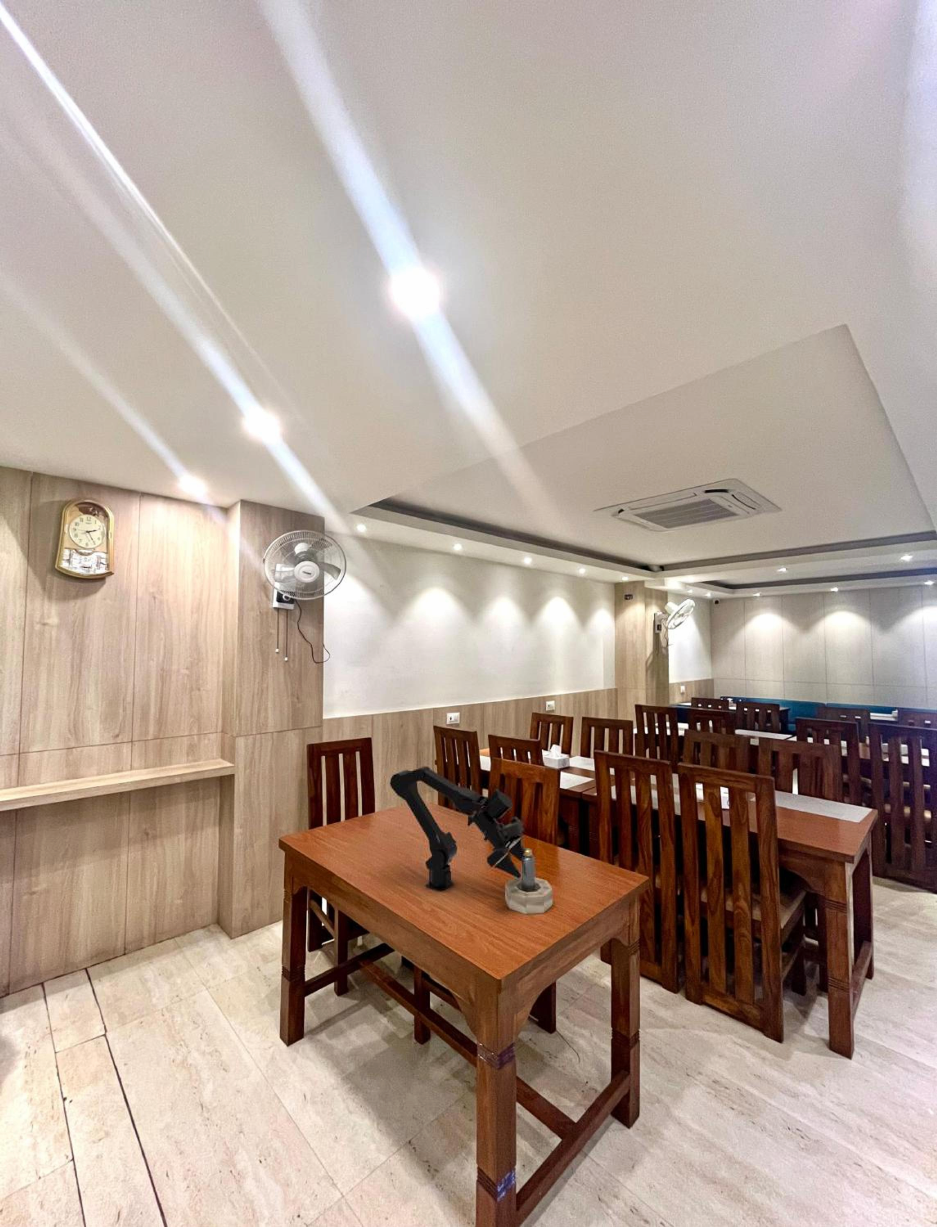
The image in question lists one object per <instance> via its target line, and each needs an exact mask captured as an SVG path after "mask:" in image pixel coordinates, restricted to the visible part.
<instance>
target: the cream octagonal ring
mask: <svg viewBox="0 0 937 1227" xmlns="http://www.w3.org/2000/svg"><path fill="white" fill-rule="evenodd" d="M504 891H505V892H504V894H505V895H504V899H505V902H506V905H507V906H508V908H509V909H510V910H513V911H514V912H518V913H521V914H524V915H533V914H543V913H546V911H547V910H548V909H550V908H551V907H552V906H553V888H552V886H551V885H550V883H549V882H548V881H547V880H546V879H542V878H538V877H535V892H524V891H522V876H521V877H520V878H517V877H513V878H511V879H510V880H508V882H506V883H505V884H504Z"/></svg>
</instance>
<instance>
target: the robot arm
mask: <svg viewBox="0 0 937 1227" xmlns="http://www.w3.org/2000/svg"><path fill="white" fill-rule="evenodd" d="M419 781H420V782H422V783H424V784H426V786H428V787H430V788H431V789H433V790H435V791H436V792H438V793H439V794H441V795H443V796H445V797H446V798H448V799H449V800H450V801H451V803H452V804H453V806H454V807H455V808H456V809H457V810H458V811H460V813H462V814H464V815H468V816H467V827H469V826H471V825H473V824H474V825H475V826H476V828H477V829H478V830H479V831H480V832H481V834H482V835H483V836H484V837H483V841H484V842H487V841H488V842H489V843H490V845H491V846H492V847H493V848H492V852H491V853H490V854H489V855H488V856H487V857H486V863H487V864H488V866H489V867H490V868H494V869H498V870H500V871H503V872H505V873H507V874H509V875H511V876H512V877H514V878H516V877H517V878H520V877H522V875H521V873H520V871H519V869H518V867H516V864H515V863H514V862H513V860H512V859H511V858H512V857H511V855H512V856H514V858H516V859H517V860H519V861H520V862H521V856H522V855H524V849H525V848H524V845H523V842H524V840H523V839H524V833H523V832H524V831H525V830H524V827H523V824H524V822H523V821H522V820H521V819H519V818H518V817H517V816H514V817H512V818H511V819H510V823H508V824H506V825H505V824H504V823H503V822H498V821H497V819H501V818H502V817H503V816H504V815H505V814H506V813H507V812H508V811H509V810H511V808H512V807H513V801H512V800H511V798H510V796H508V795H507V794H505V793H504V792H502V791H500V789H495V790H494V791H493V792H492V794H491V795H490V796H489V797H488V796H486V795H485V796H484V795H481V794H480V793H478V792H477V791H475V790H474V789H473V790H472V789H470V788H468V787H463V786H462V787H461V786H459V785H457V784H455V783H453V782H452V781H450V780H448V779H447V778H445V777H443V776H442V775H441V774H439V773H437V772H435V771H433V770H432V769H431V768H430V767H429V766H427V765H425V766H421V767H419V768H417V769H413V770H409V769H404V770H402V771H399V772H397V773H394V774H392V776H391V777H390V782H389V785H390V788H391V789H392V790H393V792H394V793H395V794H396V795H397V796H398V797H400V798H401V799H402V800H403V801H405V803H406V804H407V805H408V807H409V809H410V811H411V812H412V814H413V816H414V818H415V819H416V822H418V824H419V826H420V828H421V829H422V832H423V833H424V834H425V836H426V837H427V840H428V845H429V846H428V847H429V848H428V849H429V852H430V854H431V856H430V857H429V858H428V859H427V860H426V861H425V866H426V869H427V870H428V882H427V883H426V884H425V886H426V887H428V888H431V889H434V890H437V891H438V892H442V891H444V890H445V889H447V888H449V887H451V885H453V884H454V881H452V870H451V865H450V864H449V863H451V862H452V860H453V859H454V858H455V857H456V856H457V853H458V846H457V841H456V840H455V839H454V837H453V835H452V833H451V832H450V831H448V832H446V833H445V832H444V831H442V829H441V828H440V826H439V825H438V823H437V822H436V819H435V818H434V816H433V814H432V813H431V811H430V809H429V807H428V806H427V805H426V803H425V801H424V800H423V798H422V797H421V795H420V793H419V788H418V783H417V782H419ZM482 808H484V809H483V810H482ZM472 813H474V814H472Z"/></svg>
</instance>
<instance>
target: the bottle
mask: <svg viewBox="0 0 937 1227" xmlns="http://www.w3.org/2000/svg"><path fill="white" fill-rule="evenodd" d="M535 861H536V858H535V855H533V850H532V849H531V848H524V855H522V856H521V861H520V862H521V864H520V865H521V866H520V867H521V873H520V874H521V877H522V891H524V892H535V878H536V862H535Z"/></svg>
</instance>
